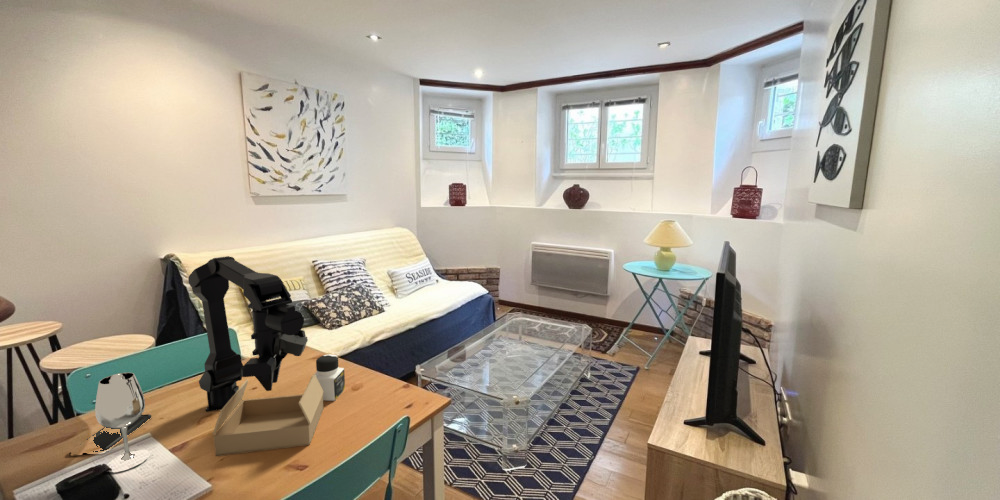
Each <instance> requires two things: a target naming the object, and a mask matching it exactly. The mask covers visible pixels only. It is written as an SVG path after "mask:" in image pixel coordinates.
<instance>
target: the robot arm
mask: <svg viewBox="0 0 1000 500" xmlns="http://www.w3.org/2000/svg"><path fill="white" fill-rule="evenodd" d="M230 282H231V283H232V284H234V285H236V286H238V287H239V288H241V289H242V290H243V291H242V296H243V297H245V298H246V299H247V300H248V302H249V304H247V307H248V309H251V310H252V312H251V313H252V320H253V323H252V325H253V333H252V334H250V338H251V340H254V347H255V348H254V349H253V350H252V356H258V357H252V358H250V359H248V361H246V363H244V365H243V362H242V356H241V354H239V353H237V352H235V351H234V350H233V349H232V345H231V344H232V343H231V337H230V330H229V324H228V319H227V318H228V317H227V312H226V306H225V296H226V295H227V292H228V291H229V289H230ZM188 283H189V284H188V285H189V286H190V287H191V290H192V294H194V295H195V296H196V298H198V299H199V300H200V301H201V303H202V310H203V317H204V322H205V323H204V324H205V327H206V329H205V330H206V335H207V342H208V348H209V353H208V356H207V358H206V360H205V362H204V365H203V366H204V372H203V373H202V376H201V378H200V379H199V380H198V384H199V389H200V390H203V391H205V392H206V398H207V407H206V408H205V410H204V411H205V412H213V411H214V412H215V411H221V409H222V408H223V407H224V406H225V405H226V403H227V402H228V401H229V400H230V399H231V398H232V396H233V395H234V394H235V393H236V392H237V390H238V389H239V388H240V387H239V385H237V382H239V381H242V379H243V378H249V377H255V378H256V380H258V382H259V383H260V384H261V386H262V387H263V389H264V390H265V392H270V391H273V384H276V383H277V382H278V380H279V375H280V371H281V370H280V369H281V365H282V363H283V360H284V359H285V358H286V357H287V355H288V354H289V355H293V356H295V357H301V356H302V354H303V352H305V349H306V345H307V343H308V336H307V335H306V332H305V330H304V329H302V328H303V327H304V323H305V317H304V315H303V313H301V311H298V310H296V306H295V305H293V304H292V303H293V300H292V298H291V297H292V296H291V293H290V292H289V291H288V289H287V288H286V286H285V283H284V281H283V280H282V279H281V278H280V277H279V276H278V275H276V274H273V273H268V272H267V273H266V272H265V273H264V272H258V271H255V270H254V269H252V268H250V267H248V266H246V265H245V264H243V263H240V261H237V260H236V259H235V257H233V256H228V255H227V256H219V257H214V258H212V259H211V258H210V259H209V260H208V261H207V262H206V263H205V264H202V265H199V266H198V267H196V268H195V269H194V270H193V271H192V272H191V273H190V274H189V275H188Z"/></svg>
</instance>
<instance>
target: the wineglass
mask: <svg viewBox="0 0 1000 500" xmlns="http://www.w3.org/2000/svg"><path fill="white" fill-rule="evenodd" d="M94 406H95V407H94V409H95V411H94V412H95V414H94V415H95V418H96V421H97V422H98V423H99V425H100V426H103V428H104V427H106V428H111V429H120V430H121V432H122V436H123V441H122V442H123V449H124V453H123V454H124V456H123V457H122V458H121V460H124V461H126V460H129V459H131V458H134V456H135V454H131V453H130V451H131V450H130V449H129V441H128V440H129V439H128V437H127V427H128V426H129V425H131V424H132V423H134V422H135V421H136V420H137V419H138V418H139V417H140V416H141V415H143V413H144V411H145V408H146V399H145V395H144V392H143V390H142V387H141V385H140V382H139V380H138V379H137V377H136V375H135V373H134V372H130V371H129V372H128V371H127V372H120V373H115V374H112V375H109V376H105V377H103V378H102V379H100V380H99V381H98V386H97V392H96V399H95V405H94Z"/></svg>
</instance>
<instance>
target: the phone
mask: <svg viewBox="0 0 1000 500" xmlns="http://www.w3.org/2000/svg"><path fill="white" fill-rule="evenodd" d="M151 417H152V414H150V413H149V414H142V415H141V416H140V417H139V418H138V419H137V420H136V421H135V422H134V423H132V424H131V425H129V426H128V427H127V435H129V434H130V433H132V432H133V431H135V430H136V429H137V428H139V427H140V426H141V425H142V424H143V423H145V422H146V421H147V420H148V419H150V418H151ZM151 419H152V418H151ZM151 419H150V420H151ZM146 423H147V422H146ZM146 423H145V424H146ZM142 426H143V425H142ZM142 426H141V427H142ZM141 427H140V428H141ZM104 428H105V427H104V426H103V428H101V429H100V430H99V431H96V433H94V434H92V435H91V436H94V435H95V434H96V437H94V440H93V441H94V443H95V444H96V446H97V445H99V446H100V448H102V449H103V450H100V451H104V450H107V449H109V448H110V447H112V446H113V445H115V444H116V443H117V442H119V441H120V440H121V439H122V438H123V436H122V432H121V430H120V433H121V436H120V434H118V432H117V434H116V433H113V434H112V433H111V434H112V435H111V434H109V432H107V431H106V432H107V433H106V432H105V431H103V433H102V432H100V431H101V430H103V429H104ZM140 428H139V429H140ZM137 430H138V429H137ZM137 430H136V431H137ZM136 431H135V432H136ZM100 433H101V434H100ZM133 433H134V432H133ZM133 433H132V434H133ZM129 436H130V435H129ZM86 440H88V438H87V439H86ZM97 447H98V446H97ZM93 452H94V451H93ZM95 452H98V451H95Z"/></svg>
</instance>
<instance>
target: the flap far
mask: <svg viewBox="0 0 1000 500" xmlns="http://www.w3.org/2000/svg"><path fill="white" fill-rule="evenodd" d="M311 377H312V378H311ZM311 377H310V379H309V382H308V384H307V385H306V388H305V389H304V392H303V395H302V397H301V399H300V401H299V403H298V404H299V406H300V407H301V409H302V411H303V413H304V415H305V417H306V419H307V421H308V423H309V424H311V422H312V419H313V417H314V414H315V412H316V409H317V407H318V404H319V402H320V400H321V397H322V395H323V390H322V388H321V385H320V383H319V381H318V379H317V377H316V375H315V373H313V374H312V376H311Z"/></svg>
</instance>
